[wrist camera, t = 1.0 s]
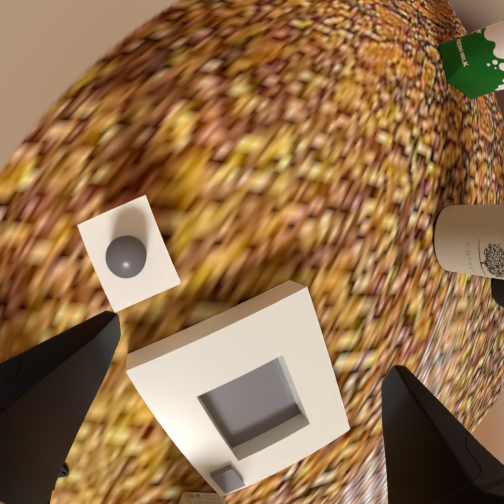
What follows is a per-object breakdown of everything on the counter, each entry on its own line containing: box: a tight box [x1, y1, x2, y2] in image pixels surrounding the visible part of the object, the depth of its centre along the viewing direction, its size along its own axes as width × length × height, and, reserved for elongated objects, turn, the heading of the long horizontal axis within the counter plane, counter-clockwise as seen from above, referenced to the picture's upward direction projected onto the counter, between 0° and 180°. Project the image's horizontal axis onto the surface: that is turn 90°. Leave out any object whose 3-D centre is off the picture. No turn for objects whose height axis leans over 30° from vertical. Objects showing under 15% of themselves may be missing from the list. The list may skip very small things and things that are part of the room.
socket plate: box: [125, 280, 350, 497], centre depth 22 cm, size 14×16×4 cm
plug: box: [78, 195, 181, 312], centre depth 17 cm, size 4×5×8 cm
